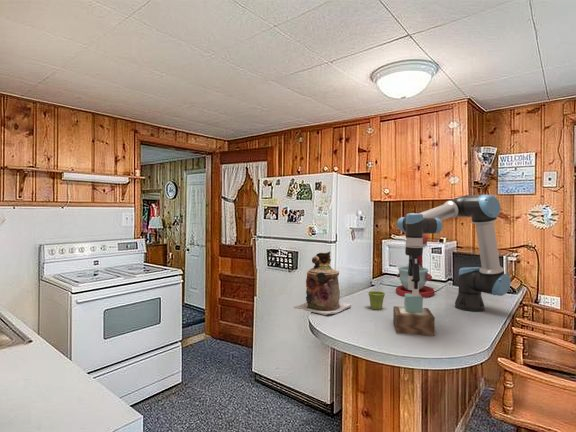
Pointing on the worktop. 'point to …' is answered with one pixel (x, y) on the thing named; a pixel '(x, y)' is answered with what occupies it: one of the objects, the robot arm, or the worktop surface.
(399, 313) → the walnut block
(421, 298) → the teal cube
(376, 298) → the plant pot
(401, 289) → the stand mixer
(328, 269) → the cookie jar
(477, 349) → the worktop surface
